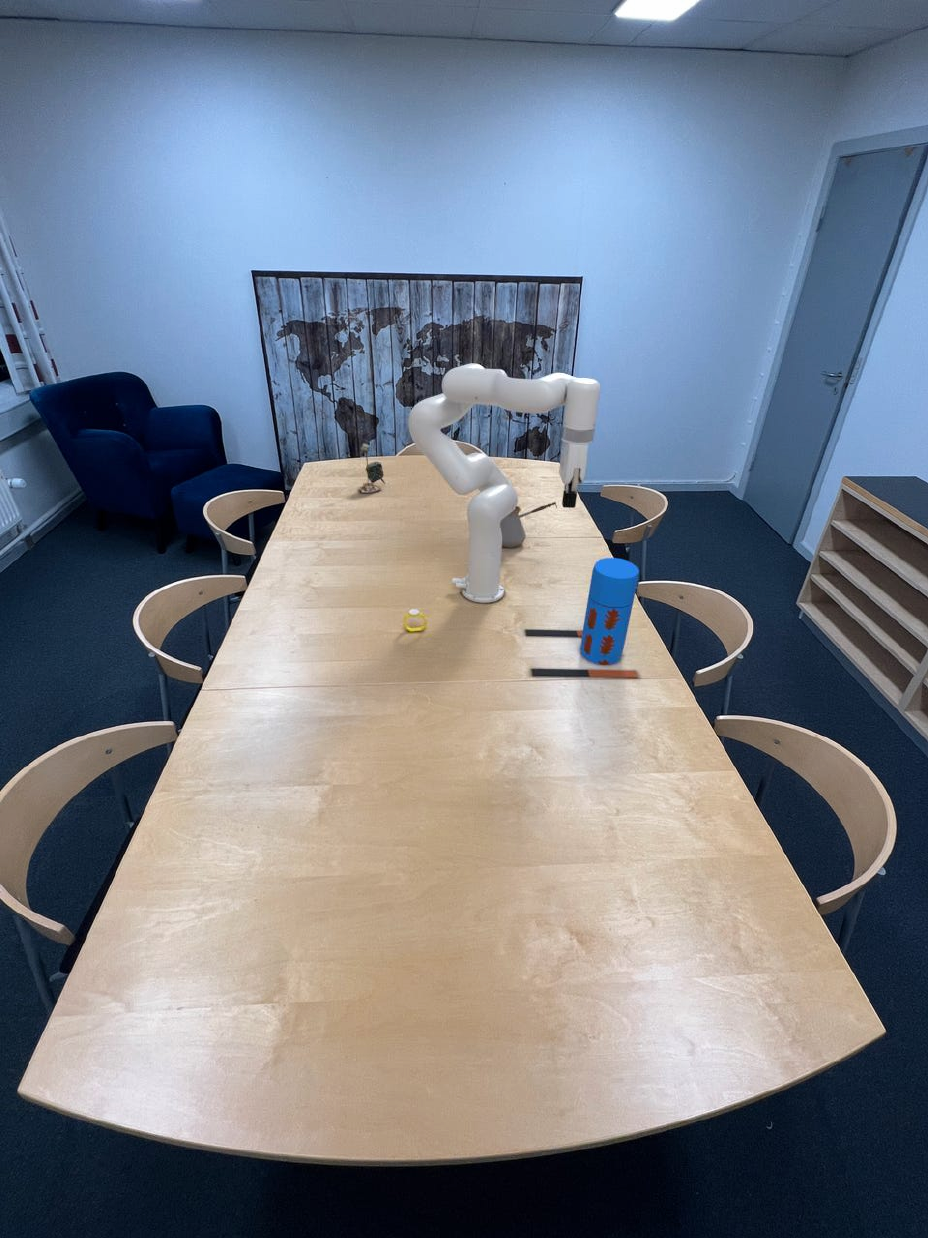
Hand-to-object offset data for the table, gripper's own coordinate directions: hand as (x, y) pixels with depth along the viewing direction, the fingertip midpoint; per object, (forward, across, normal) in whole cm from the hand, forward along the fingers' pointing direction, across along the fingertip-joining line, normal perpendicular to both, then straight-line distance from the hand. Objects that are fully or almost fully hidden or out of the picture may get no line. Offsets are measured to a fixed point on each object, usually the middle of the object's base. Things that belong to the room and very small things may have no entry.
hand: (568, 506), depth 156 cm
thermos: (+33, +18, +10) cm, 39 cm away
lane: (+33, +18, +4) cm, 38 cm away
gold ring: (+33, +9, -39) cm, 52 cm away
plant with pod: (+33, -93, -63) cm, 117 cm away
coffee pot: (+33, -47, -5) cm, 58 cm away
